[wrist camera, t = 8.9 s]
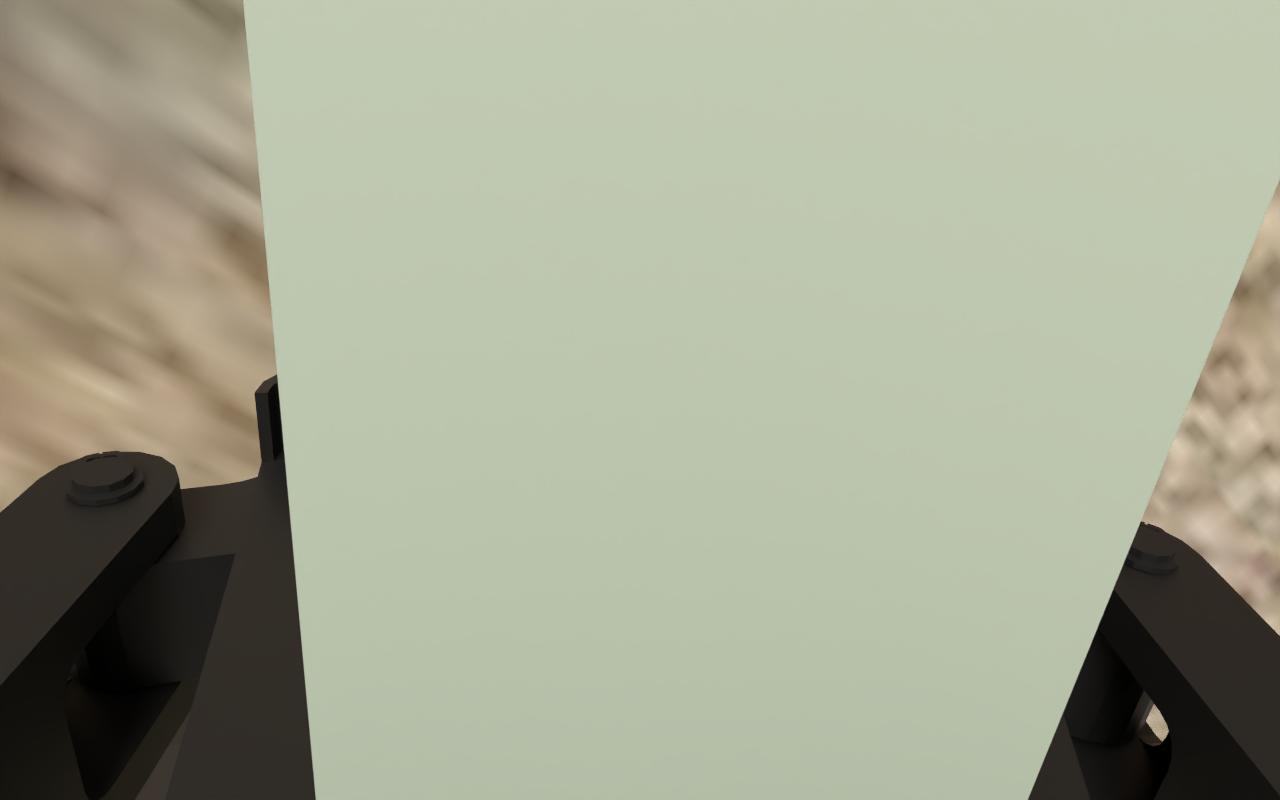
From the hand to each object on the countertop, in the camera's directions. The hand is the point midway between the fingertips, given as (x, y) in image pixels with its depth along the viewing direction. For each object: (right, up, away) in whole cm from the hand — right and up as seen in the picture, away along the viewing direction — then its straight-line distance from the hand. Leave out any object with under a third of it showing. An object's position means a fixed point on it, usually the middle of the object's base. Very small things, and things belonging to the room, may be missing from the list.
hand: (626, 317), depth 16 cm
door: (0, +2, +5) cm, 5 cm away
